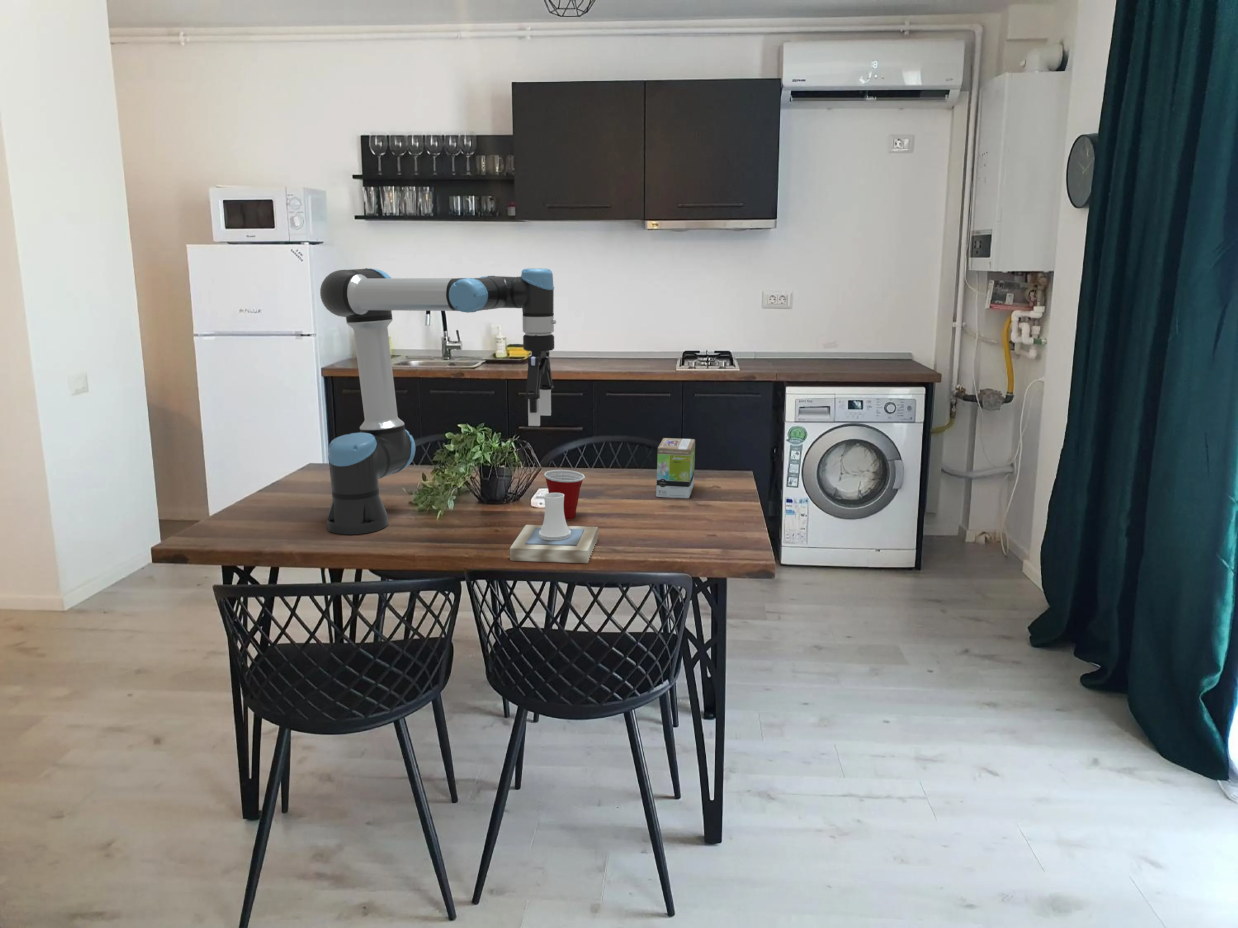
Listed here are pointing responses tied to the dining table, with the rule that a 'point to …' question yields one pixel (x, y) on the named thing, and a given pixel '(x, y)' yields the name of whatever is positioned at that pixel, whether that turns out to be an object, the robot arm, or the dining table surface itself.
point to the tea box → (675, 468)
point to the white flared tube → (554, 518)
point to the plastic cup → (565, 488)
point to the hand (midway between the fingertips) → (540, 420)
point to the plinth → (554, 545)
